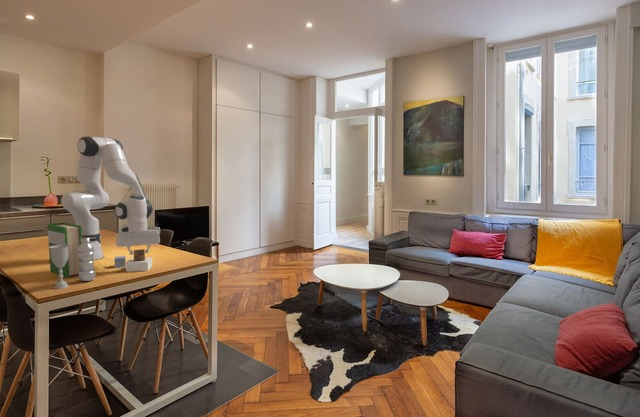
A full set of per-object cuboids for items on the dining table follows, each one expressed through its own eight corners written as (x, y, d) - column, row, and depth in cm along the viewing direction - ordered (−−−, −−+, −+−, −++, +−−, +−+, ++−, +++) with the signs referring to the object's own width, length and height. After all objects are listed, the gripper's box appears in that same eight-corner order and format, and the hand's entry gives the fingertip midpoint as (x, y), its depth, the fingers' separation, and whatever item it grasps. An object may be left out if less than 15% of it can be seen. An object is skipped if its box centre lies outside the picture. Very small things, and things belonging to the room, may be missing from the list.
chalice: (67, 283, 165) (65, 244, 163) (74, 286, 161) (72, 245, 159) (48, 287, 159) (45, 246, 157) (55, 290, 155) (52, 248, 153)
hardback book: (84, 274, 180) (81, 225, 177) (67, 277, 174) (64, 227, 171) (67, 268, 189) (64, 222, 187) (50, 272, 183) (47, 224, 181)
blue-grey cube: (114, 268, 192) (114, 258, 192) (115, 265, 197) (114, 256, 196) (125, 266, 195) (125, 257, 194) (125, 264, 199) (125, 255, 199)
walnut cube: (134, 261, 187) (133, 251, 187) (133, 259, 191) (133, 250, 191) (144, 260, 189) (144, 251, 189) (144, 258, 194) (144, 249, 193)
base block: (126, 272, 185) (126, 262, 185) (131, 267, 195) (131, 258, 194) (147, 271, 187) (147, 261, 187) (152, 266, 197) (151, 257, 196)
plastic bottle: (83, 278, 172) (81, 236, 170) (98, 278, 173) (96, 236, 171) (75, 283, 166) (73, 239, 164) (91, 282, 166) (89, 239, 164)
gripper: (159, 225, 196) (160, 250, 198) (115, 227, 187) (117, 254, 188) (160, 226, 191) (161, 253, 192) (115, 229, 181) (116, 256, 183)
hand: (139, 253), depth 190 cm, fingers open, 6 cm apart
